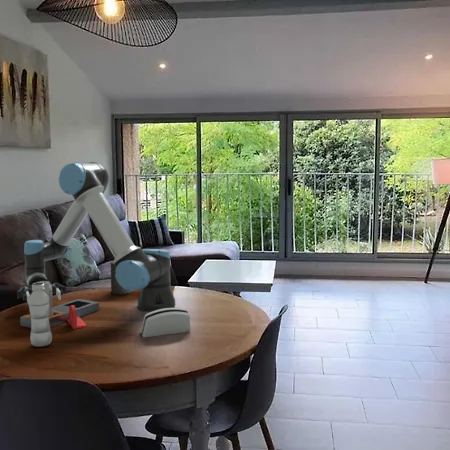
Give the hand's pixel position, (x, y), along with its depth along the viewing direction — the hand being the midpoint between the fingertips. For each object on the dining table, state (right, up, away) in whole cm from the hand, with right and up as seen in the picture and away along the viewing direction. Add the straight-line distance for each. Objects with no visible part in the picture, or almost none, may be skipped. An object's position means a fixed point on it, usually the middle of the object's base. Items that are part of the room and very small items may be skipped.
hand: (44, 297), depth 183 cm
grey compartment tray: (+2, -9, +12) cm, 15 cm away
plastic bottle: (+5, -13, -17) cm, 22 cm away
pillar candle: (+18, -4, +49) cm, 52 cm away
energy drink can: (-2, -10, +5) cm, 11 cm away
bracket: (+10, -11, +5) cm, 15 cm away
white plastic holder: (+44, -12, -6) cm, 46 cm away
